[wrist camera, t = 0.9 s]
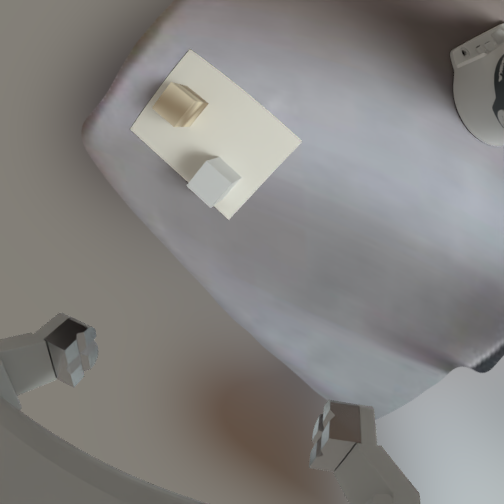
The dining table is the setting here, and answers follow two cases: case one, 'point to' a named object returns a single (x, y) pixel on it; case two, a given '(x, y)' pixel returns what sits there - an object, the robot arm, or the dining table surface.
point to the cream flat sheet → (218, 132)
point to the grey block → (213, 181)
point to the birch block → (179, 105)
